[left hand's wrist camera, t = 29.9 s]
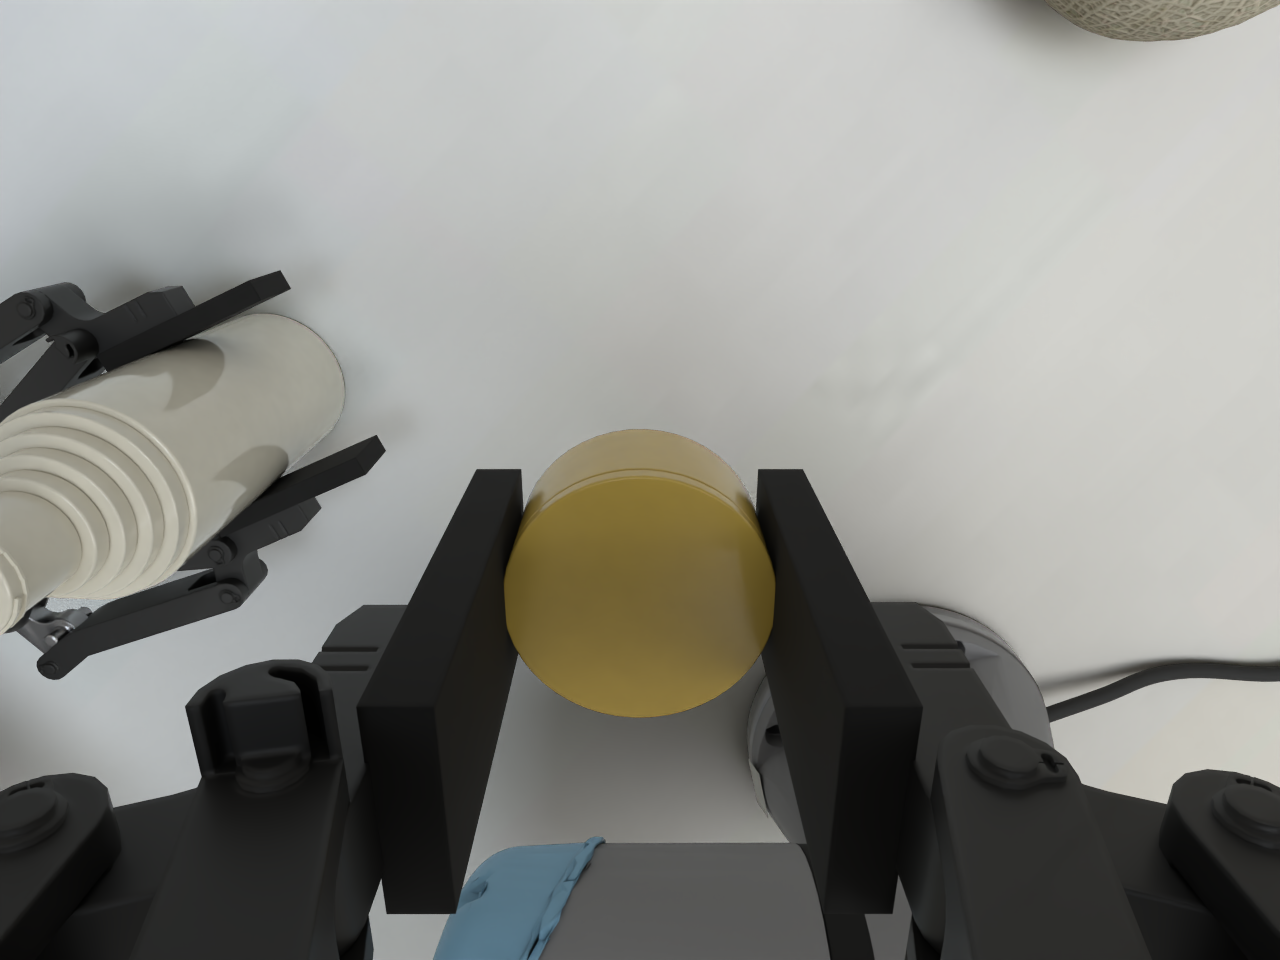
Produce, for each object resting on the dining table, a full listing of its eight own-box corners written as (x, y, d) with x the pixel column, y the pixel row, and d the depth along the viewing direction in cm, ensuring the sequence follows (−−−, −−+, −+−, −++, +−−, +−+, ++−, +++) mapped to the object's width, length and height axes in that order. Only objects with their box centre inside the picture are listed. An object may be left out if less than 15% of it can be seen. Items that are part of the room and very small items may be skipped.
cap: (775, 619, 15) (797, 692, 13) (554, 661, 15) (542, 739, 13) (735, 404, 14) (752, 449, 12) (492, 456, 14) (467, 508, 12)
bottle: (193, 424, 39) (-193, 660, 21) (215, 292, 37) (-194, 428, 19) (329, 467, 40) (71, 730, 22) (359, 341, 38) (99, 516, 20)
